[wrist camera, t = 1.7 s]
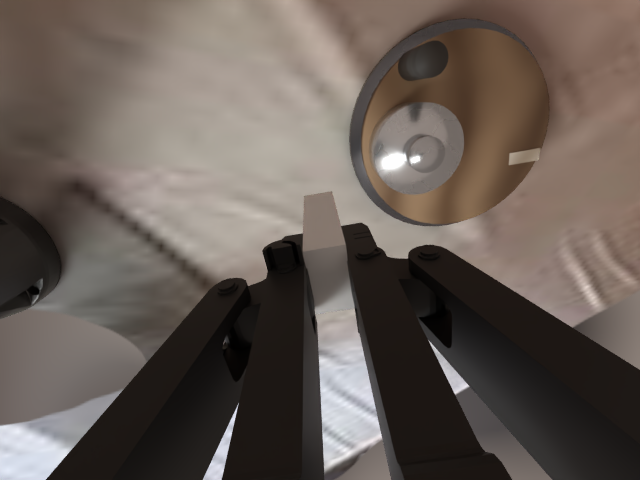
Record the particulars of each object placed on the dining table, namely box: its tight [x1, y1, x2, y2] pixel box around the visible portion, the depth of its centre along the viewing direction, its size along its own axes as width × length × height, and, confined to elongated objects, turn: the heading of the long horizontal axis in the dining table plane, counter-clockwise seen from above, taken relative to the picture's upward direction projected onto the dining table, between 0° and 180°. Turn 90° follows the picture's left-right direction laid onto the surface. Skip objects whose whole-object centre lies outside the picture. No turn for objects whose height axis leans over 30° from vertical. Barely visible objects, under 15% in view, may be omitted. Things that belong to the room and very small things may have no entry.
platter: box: [361, 28, 549, 224], centre depth 29 cm, size 18×18×6 cm
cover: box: [369, 102, 464, 195], centre depth 28 cm, size 8×8×5 cm
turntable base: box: [349, 19, 537, 226], centre depth 32 cm, size 20×20×1 cm
